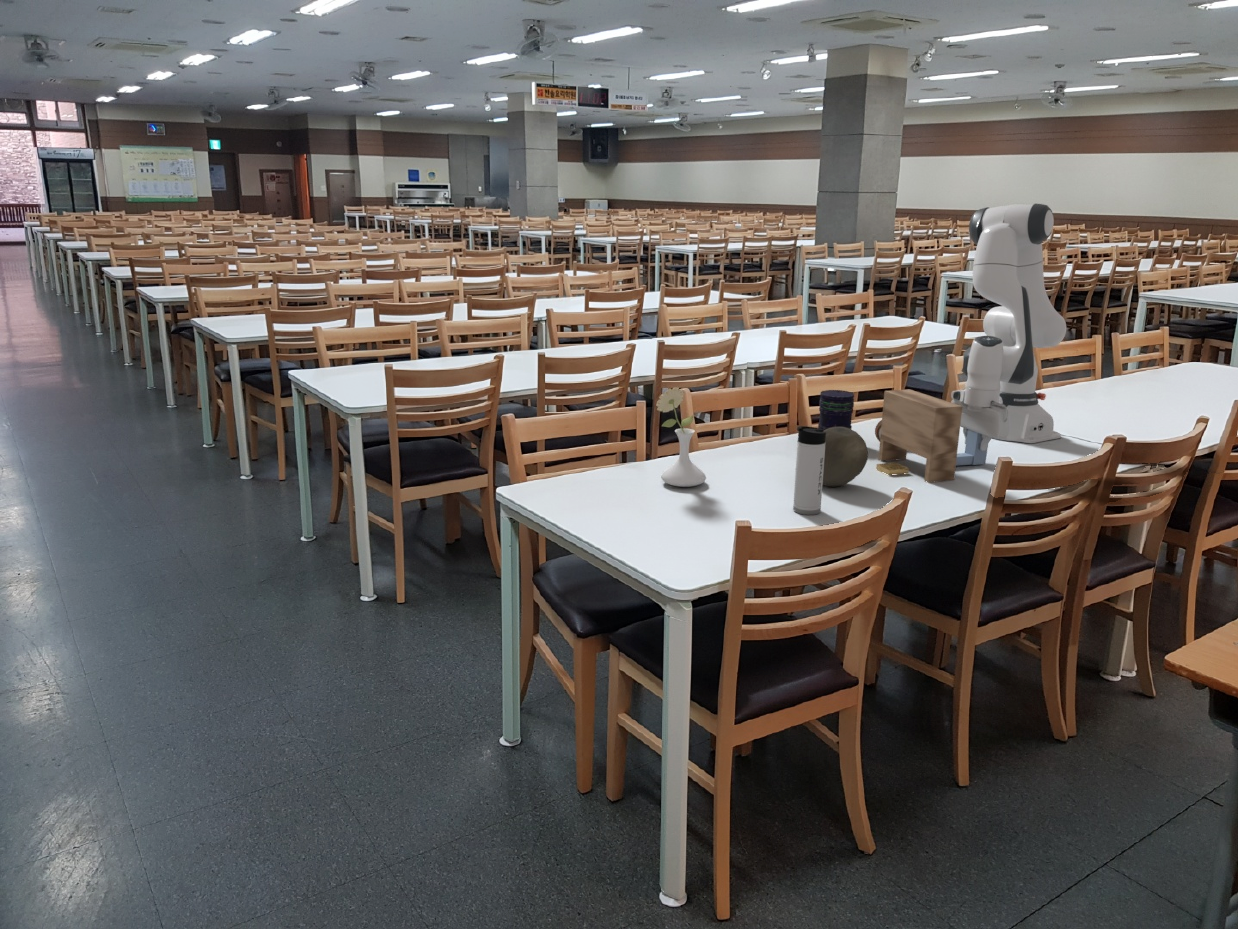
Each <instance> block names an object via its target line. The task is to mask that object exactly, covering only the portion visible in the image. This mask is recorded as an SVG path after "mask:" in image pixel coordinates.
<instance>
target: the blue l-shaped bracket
mask: <svg viewBox="0 0 1238 929" xmlns="http://www.w3.org/2000/svg"><path fill="white" fill-rule="evenodd" d="M982 440H983V438H982V434H980V433H977V432H974V431H971V430H969V429H968V432H967V439H966V444H965V446H964V447H965V448H964V449H965V450H964V452H962V453H961V452H960V453H957V458H956V466H966V465H967V466H968V465H972V466H975V465H976V466H978V465H986V461H987V454H988V448H989V443H988V444H987V450H984V451H982V450H979V449H978V444H979V443H981V442H982Z"/></svg>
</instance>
